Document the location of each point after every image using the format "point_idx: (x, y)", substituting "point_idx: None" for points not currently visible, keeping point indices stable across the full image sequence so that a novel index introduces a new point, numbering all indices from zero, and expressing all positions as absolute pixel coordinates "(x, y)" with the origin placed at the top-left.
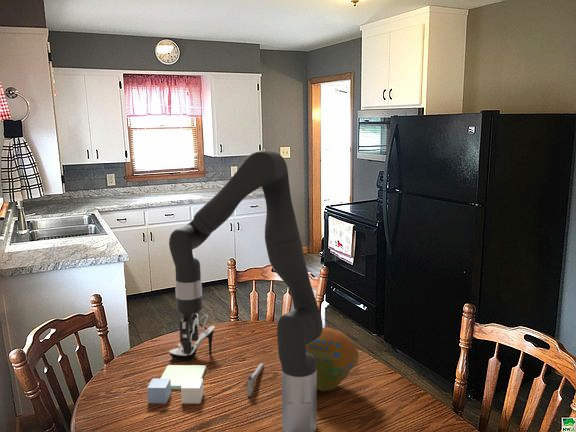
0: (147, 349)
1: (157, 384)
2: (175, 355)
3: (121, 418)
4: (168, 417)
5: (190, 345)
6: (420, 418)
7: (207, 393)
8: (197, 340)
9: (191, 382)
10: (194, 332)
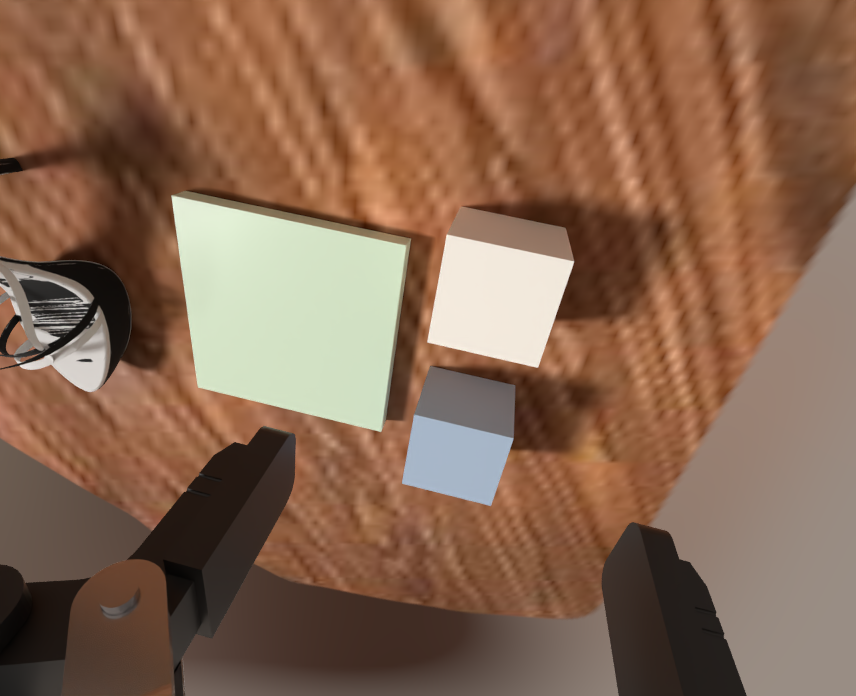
0: (66, 446)
1: (467, 468)
2: (113, 361)
3: (584, 524)
4: (647, 378)
5: (701, 645)
6: None
7: (463, 183)
8: (293, 434)
9: (484, 309)
10: (235, 552)
